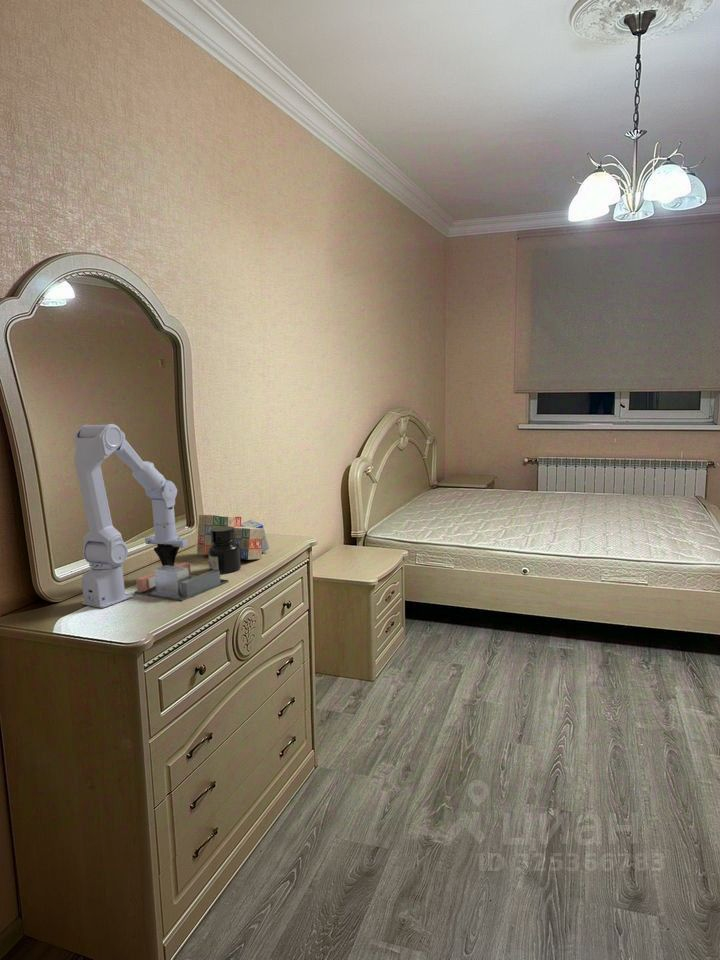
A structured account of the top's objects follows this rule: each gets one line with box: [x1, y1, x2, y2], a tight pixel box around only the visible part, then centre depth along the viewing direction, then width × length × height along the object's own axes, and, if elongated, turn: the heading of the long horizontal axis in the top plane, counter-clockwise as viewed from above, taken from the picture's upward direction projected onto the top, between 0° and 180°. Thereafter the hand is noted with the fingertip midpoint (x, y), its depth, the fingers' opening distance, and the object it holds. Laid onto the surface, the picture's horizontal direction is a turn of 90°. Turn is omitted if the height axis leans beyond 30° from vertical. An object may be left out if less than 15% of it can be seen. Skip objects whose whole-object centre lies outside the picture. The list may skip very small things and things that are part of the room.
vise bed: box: [134, 570, 229, 602], centre depth 176 cm, size 17×17×4 cm
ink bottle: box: [207, 526, 242, 574], centre depth 191 cm, size 10×9×12 cm
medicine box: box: [241, 519, 270, 553], centre depth 209 cm, size 8×4×9 cm, turn 38°
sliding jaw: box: [135, 561, 192, 592], centre depth 179 cm, size 17×2×3 cm, turn 150°
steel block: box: [153, 565, 190, 595], centre depth 171 cm, size 4×8×6 cm, turn 60°
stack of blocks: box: [196, 514, 263, 561], centre depth 205 cm, size 21×6×12 cm, turn 57°
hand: (169, 570), depth 186 cm, fingers closed
